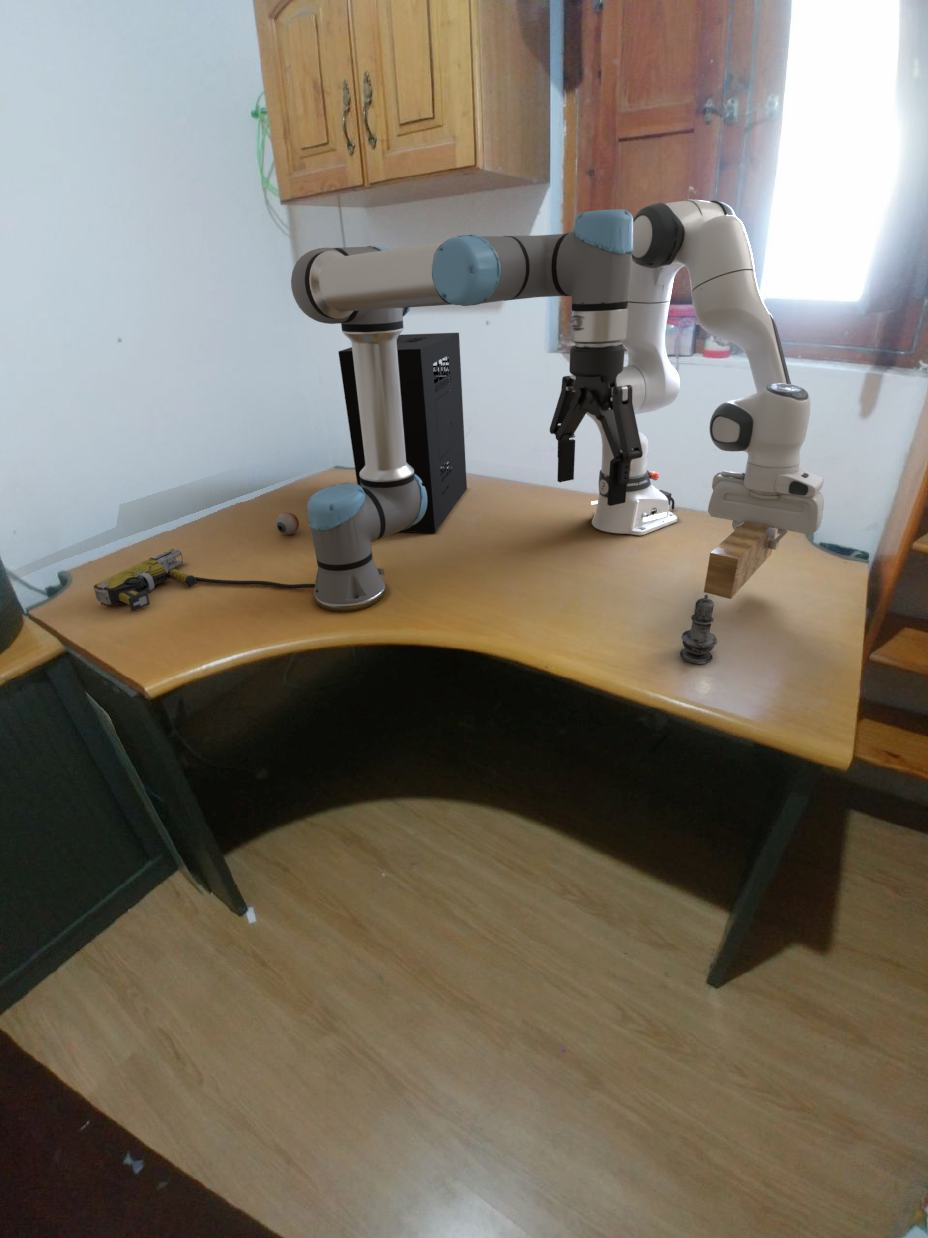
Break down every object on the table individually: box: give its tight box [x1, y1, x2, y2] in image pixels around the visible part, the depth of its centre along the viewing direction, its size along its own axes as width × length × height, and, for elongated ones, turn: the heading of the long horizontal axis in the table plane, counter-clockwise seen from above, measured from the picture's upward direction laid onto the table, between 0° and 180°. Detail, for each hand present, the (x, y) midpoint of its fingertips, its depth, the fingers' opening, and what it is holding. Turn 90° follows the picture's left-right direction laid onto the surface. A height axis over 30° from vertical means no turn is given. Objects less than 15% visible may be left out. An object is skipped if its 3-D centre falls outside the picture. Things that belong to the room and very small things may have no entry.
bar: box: [703, 521, 777, 600], centre depth 114 cm, size 23×5×8 cm, turn 140°
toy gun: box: [93, 548, 197, 612], centre depth 139 cm, size 5×24×15 cm
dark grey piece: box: [679, 593, 718, 665], centre depth 102 cm, size 6×6×12 cm
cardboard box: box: [338, 332, 468, 534], centre depth 167 cm, size 38×20×45 cm, turn 167°
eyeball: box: [275, 511, 300, 536], centre depth 163 cm, size 6×6×6 cm
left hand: (589, 491), depth 95 cm, fingers open, 13 cm apart
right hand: (756, 544), depth 120 cm, fingers closed on bar, 5 cm apart
